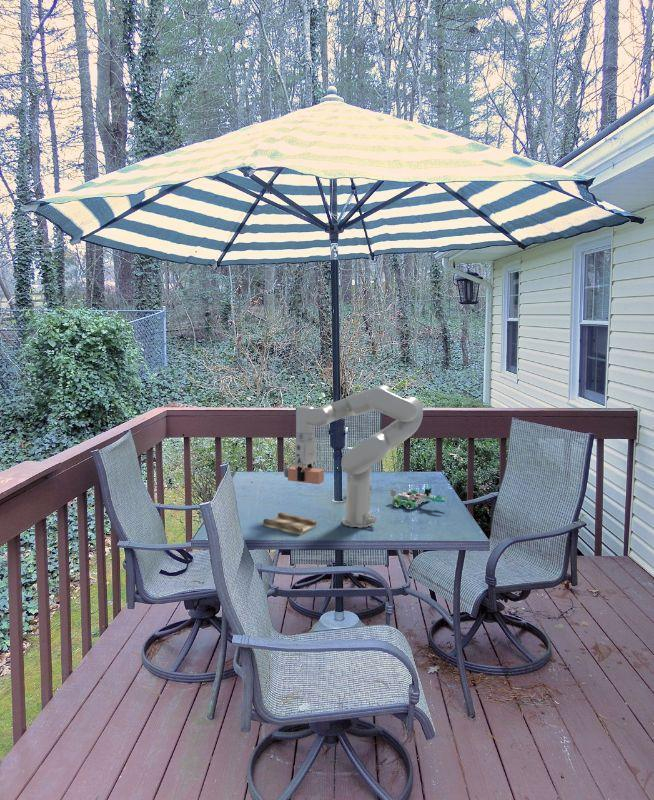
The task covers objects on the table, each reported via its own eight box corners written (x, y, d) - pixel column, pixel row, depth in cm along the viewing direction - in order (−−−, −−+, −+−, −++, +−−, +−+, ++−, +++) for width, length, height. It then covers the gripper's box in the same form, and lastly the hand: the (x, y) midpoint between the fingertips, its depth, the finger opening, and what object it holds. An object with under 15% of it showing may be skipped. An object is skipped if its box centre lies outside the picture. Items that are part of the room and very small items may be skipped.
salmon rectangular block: (323, 481, 246) (323, 469, 245) (318, 484, 242) (318, 472, 241) (289, 476, 253) (289, 465, 252) (283, 479, 248) (283, 468, 247)
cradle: (316, 527, 237) (316, 520, 236) (300, 535, 228) (300, 528, 227) (280, 518, 246) (280, 512, 246) (263, 525, 237) (263, 519, 237)
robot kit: (437, 517, 251) (438, 496, 250) (385, 506, 266) (386, 485, 264) (455, 506, 266) (456, 486, 265) (405, 496, 281) (406, 476, 279)
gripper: (300, 440, 235) (300, 485, 237) (324, 433, 249) (324, 476, 252) (285, 438, 239) (285, 482, 242) (309, 431, 253) (309, 473, 256)
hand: (305, 478), depth 247 cm, fingers closed on salmon rectangular block, 5 cm apart
